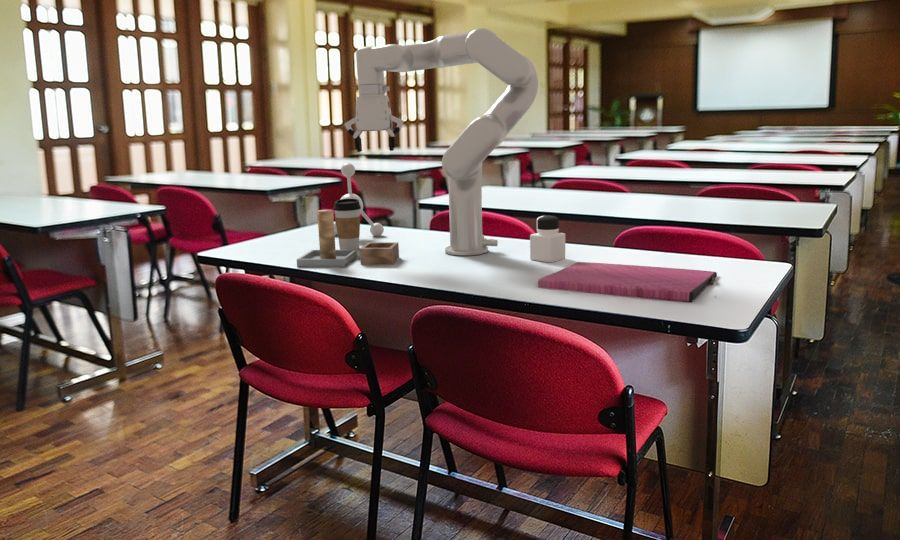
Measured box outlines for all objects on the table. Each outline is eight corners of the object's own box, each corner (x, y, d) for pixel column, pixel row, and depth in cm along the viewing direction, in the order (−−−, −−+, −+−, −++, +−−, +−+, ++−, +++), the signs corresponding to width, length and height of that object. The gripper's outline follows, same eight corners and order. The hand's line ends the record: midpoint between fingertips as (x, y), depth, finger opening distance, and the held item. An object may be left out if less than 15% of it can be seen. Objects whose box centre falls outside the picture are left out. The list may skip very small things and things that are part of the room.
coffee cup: (365, 245, 242) (363, 198, 238) (360, 251, 233) (357, 201, 230) (339, 246, 242) (336, 198, 239) (332, 251, 234) (329, 202, 231)
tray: (357, 256, 225) (357, 249, 225) (344, 266, 212) (344, 259, 212) (312, 256, 227) (312, 249, 227) (297, 266, 214) (296, 259, 214)
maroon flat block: (536, 273, 183) (576, 254, 206) (536, 289, 184) (576, 269, 207) (711, 287, 164) (734, 265, 187) (710, 306, 164) (733, 281, 187)
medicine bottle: (565, 258, 215) (566, 215, 212) (550, 263, 210) (550, 219, 207) (545, 255, 219) (544, 213, 217) (529, 259, 214) (529, 217, 212)
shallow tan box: (399, 257, 222) (398, 242, 221) (392, 264, 213) (391, 248, 212) (368, 257, 223) (367, 242, 222) (360, 264, 215) (359, 248, 214)
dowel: (338, 258, 221) (334, 209, 218) (333, 261, 217) (330, 211, 214) (323, 258, 222) (319, 209, 219) (318, 261, 218) (315, 212, 215)
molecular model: (331, 235, 265) (325, 162, 260) (386, 234, 262) (381, 160, 257) (314, 245, 247) (307, 166, 242) (374, 243, 245) (368, 164, 239)
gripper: (403, 89, 225) (406, 149, 229) (345, 92, 227) (350, 151, 231) (398, 89, 218) (402, 151, 221) (339, 92, 220) (343, 153, 224)
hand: (375, 151), depth 226 cm, fingers open, 9 cm apart
